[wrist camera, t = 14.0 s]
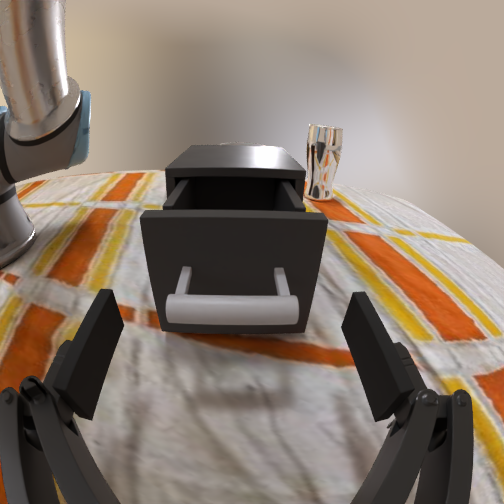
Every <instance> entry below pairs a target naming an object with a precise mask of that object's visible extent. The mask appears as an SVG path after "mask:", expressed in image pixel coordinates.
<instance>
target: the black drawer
mask: <svg viewBox="0 0 504 504" xmlns="http://www.w3.org/2000/svg"><path fill="white" fill-rule="evenodd" d="M140 224H141V231H142V237H143V244H144V250H145V255H146V261H147V266H148V272H149V277H150V282H151V287H152V291H153V296H154V300H155V305H156V309H157V313H158V318H159V322H160V326H161V329H162V331H166V332H183V333H206V334H285V333H304V332H305V329H306V325H307V321H308V317H309V312H310V308H311V304H312V300H313V295H314V291H315V286H316V282H317V277H318V272H319V267H320V263H321V258H322V252H323V247H324V242H325V237H326V231H327V225H328V219H327V218H326V216H325V215H324V213H314V212H306V207H305V206H304V204H303V203H302V201H301V199H300V198H299V196H298V195H297V193H296V191H295V190H294V188H293V187H292V185H291V184H290V182H289V181H288V179H282V178H258V177H183V178H182V179H181V181H180V182H179V183H178V185H177V186H176V188H175V189H174V190H173V192H172V193H171V195H170V196H169V197H168V199H167V200H166V202H165V203H164V204H163V210H145V211H144V212H143V214H142V215H141V216H140Z"/></svg>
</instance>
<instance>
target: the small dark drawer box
mask: <svg viewBox="0 0 504 504" xmlns="http://www.w3.org/2000/svg"><path fill="white" fill-rule="evenodd" d="M165 175H166V191H167V199H168V197H169V196H170V195H171V193H172V192H173V190H174V189H175V188H176V186H177V185H178V183H179V182H180V181H181V179H182V178H183V177H258V178H282V179H288V181H289V182H290V184H291V185H292V187H293V188H294V190H295V191H296V193H297V195H298V196H299V198H300V199H301V201H302V203H303V194H304V185H305V177H306V171H305V169H304V168H302V167H301V165H300V164H299V163H298V162H297V161H295V160H294V158H292V157H291V156H290V155H289V154H288V153H287V152H286V151H285V150H284V149H283V148H282V147H269V146H246V145H193V146H190V147H189V148H188V149H187V150H186V151H185V152H183V153H182V154H181V155H180V156H179V157H178V158H177V159H175V160H174V161H173V162H172V163H171V164H170V165H169V166H167V167H166V169H165Z"/></svg>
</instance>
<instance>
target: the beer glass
mask: <svg viewBox="0 0 504 504" xmlns="http://www.w3.org/2000/svg"><path fill="white" fill-rule="evenodd" d="M342 130H343V129H341V128H336V127H331V126H325V125H316V124H310V128H309V133H308V140H307V166H308V180H307V185H306V188H305V192H304V196H305V197H306V198H308V199H311V200H314V201H320V202H328V201H331V200H332V199H333V191H332V186H333V180H334V176H335V173H336V169H337V166H338V163H339V160H340V155H341V149H342Z"/></svg>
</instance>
